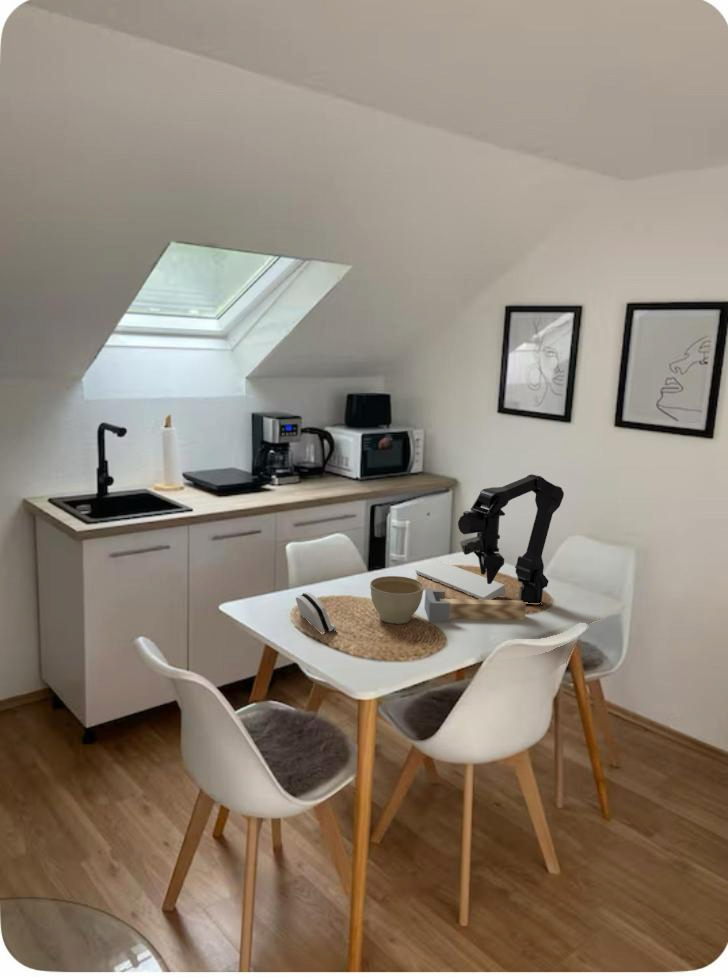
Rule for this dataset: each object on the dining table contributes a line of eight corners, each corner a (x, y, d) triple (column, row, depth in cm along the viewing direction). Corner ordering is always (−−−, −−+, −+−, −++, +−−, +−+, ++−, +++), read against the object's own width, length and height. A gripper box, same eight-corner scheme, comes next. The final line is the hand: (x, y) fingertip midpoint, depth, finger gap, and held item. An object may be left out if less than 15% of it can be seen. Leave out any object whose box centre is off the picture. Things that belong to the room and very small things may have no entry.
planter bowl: (360, 623, 222) (362, 588, 220) (378, 606, 237) (380, 573, 235) (413, 632, 217) (415, 596, 214) (428, 614, 231) (430, 580, 229)
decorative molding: (485, 610, 246) (506, 597, 251) (483, 597, 244) (504, 584, 249) (416, 581, 272) (437, 570, 277) (414, 569, 271) (435, 558, 276)
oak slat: (521, 615, 235) (522, 600, 234) (524, 620, 231) (525, 605, 230) (438, 614, 233) (439, 598, 232) (440, 618, 229) (441, 603, 228)
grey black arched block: (338, 632, 214) (328, 602, 211) (323, 640, 212) (313, 609, 209) (315, 612, 229) (306, 584, 225) (301, 619, 227) (292, 591, 224)
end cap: (443, 608, 237) (444, 590, 236) (448, 622, 225) (450, 603, 224) (424, 607, 237) (425, 589, 236) (429, 621, 225) (430, 602, 224)
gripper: (457, 522, 239) (455, 569, 242) (468, 538, 220) (465, 588, 224) (492, 523, 239) (489, 569, 242) (506, 538, 221) (502, 589, 224)
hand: (485, 579), depth 233 cm, fingers open, 9 cm apart
